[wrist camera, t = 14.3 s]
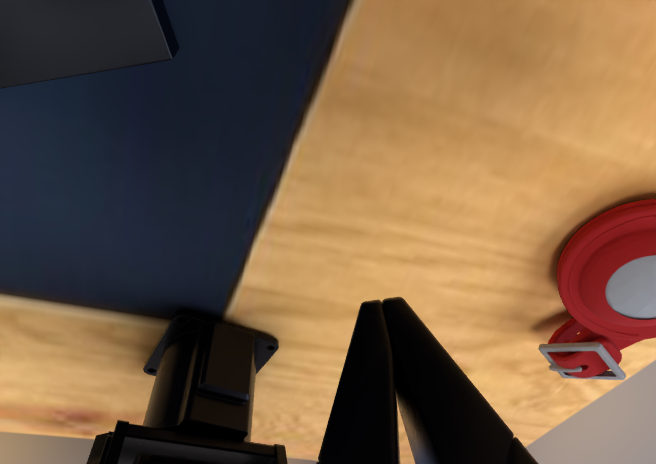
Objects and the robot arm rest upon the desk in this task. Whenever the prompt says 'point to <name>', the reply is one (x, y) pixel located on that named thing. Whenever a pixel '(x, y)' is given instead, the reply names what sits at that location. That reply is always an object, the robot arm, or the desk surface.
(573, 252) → the tracker holder
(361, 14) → the desk surface
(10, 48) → the latch bracket
